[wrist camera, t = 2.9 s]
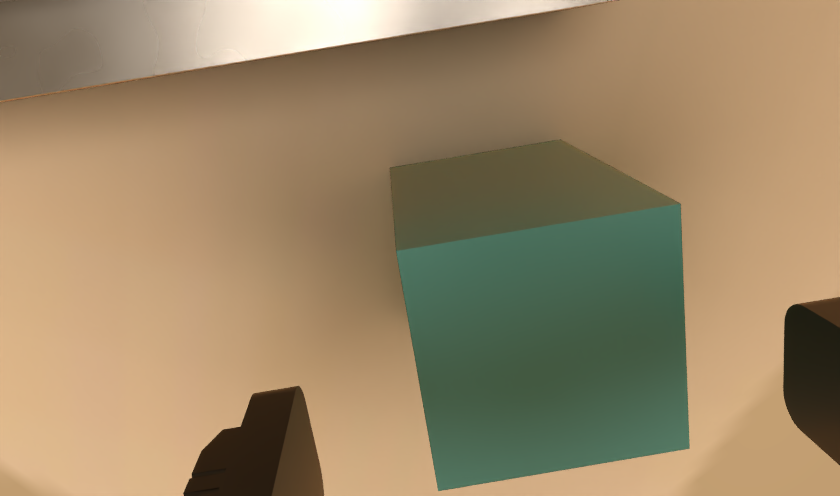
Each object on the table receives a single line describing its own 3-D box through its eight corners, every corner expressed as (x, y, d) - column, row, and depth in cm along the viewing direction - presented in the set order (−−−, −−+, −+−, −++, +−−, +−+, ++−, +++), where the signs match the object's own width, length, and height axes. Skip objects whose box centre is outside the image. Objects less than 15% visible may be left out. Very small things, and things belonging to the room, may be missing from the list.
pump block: (560, 139, 19) (680, 203, 11) (574, 298, 21) (689, 448, 13) (389, 167, 19) (396, 250, 11) (416, 324, 21) (437, 490, 13)
